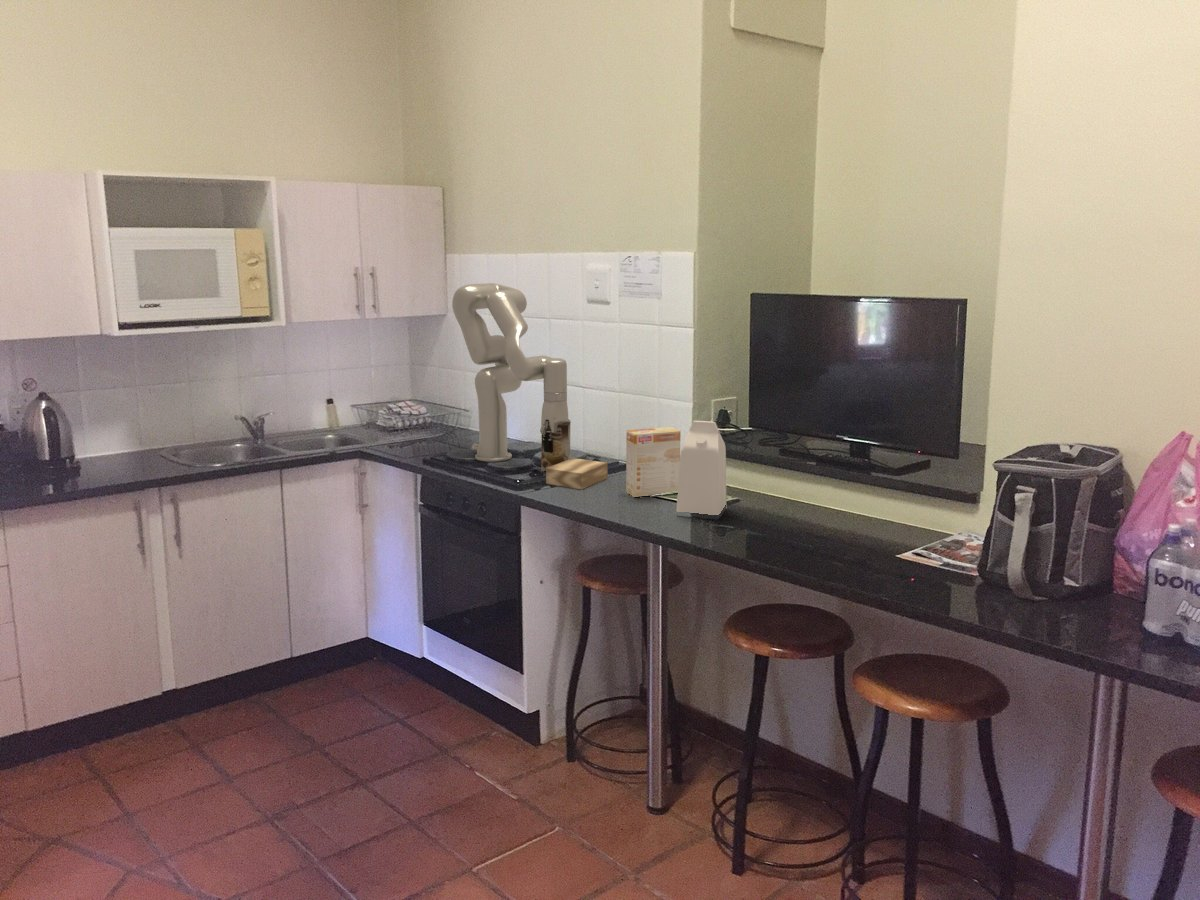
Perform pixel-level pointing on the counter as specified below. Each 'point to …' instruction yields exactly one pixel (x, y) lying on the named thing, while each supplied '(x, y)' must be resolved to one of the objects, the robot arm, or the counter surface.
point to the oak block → (576, 473)
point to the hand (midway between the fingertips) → (555, 449)
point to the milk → (702, 470)
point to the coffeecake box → (652, 461)
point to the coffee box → (557, 447)
